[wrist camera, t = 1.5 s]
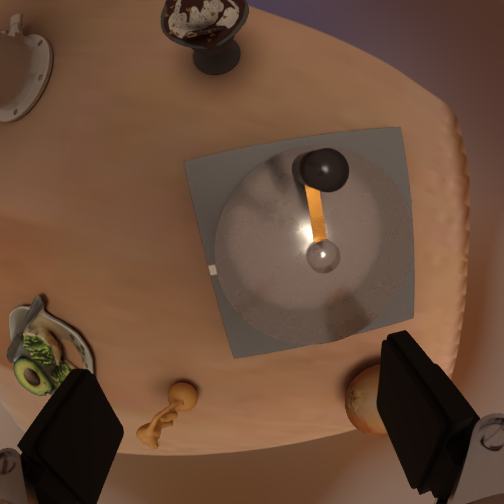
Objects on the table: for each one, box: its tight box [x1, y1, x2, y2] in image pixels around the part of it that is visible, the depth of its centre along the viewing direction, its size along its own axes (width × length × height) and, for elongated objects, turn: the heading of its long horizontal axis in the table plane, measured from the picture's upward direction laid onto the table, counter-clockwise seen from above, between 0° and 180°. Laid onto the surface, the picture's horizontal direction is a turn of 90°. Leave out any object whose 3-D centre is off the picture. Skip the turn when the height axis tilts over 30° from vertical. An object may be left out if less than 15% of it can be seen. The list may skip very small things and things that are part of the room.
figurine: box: [136, 383, 198, 449], centre depth 32 cm, size 8×6×12 cm
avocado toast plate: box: [7, 296, 94, 396], centre depth 35 cm, size 19×18×5 cm
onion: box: [345, 364, 389, 437], centre depth 33 cm, size 10×10×10 cm
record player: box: [214, 146, 414, 345], centre depth 26 cm, size 20×20×8 cm
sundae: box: [161, 0, 249, 75], centre depth 19 cm, size 7×7×15 cm
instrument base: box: [184, 127, 415, 359], centre depth 31 cm, size 22×22×3 cm
